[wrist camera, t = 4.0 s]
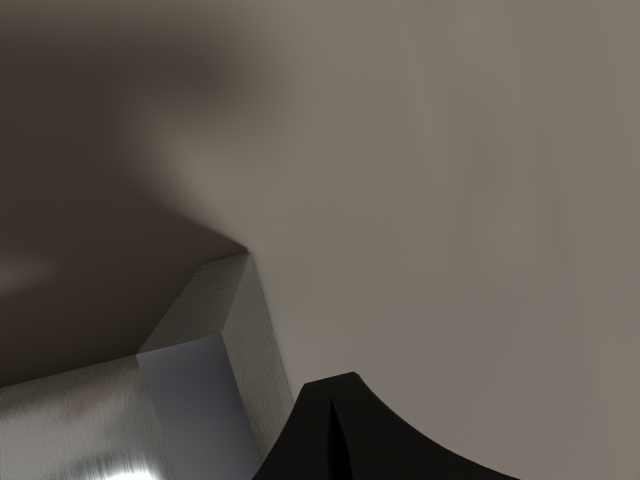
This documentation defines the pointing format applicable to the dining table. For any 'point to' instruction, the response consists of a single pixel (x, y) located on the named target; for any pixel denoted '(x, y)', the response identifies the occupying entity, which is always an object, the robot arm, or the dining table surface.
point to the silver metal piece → (162, 396)
